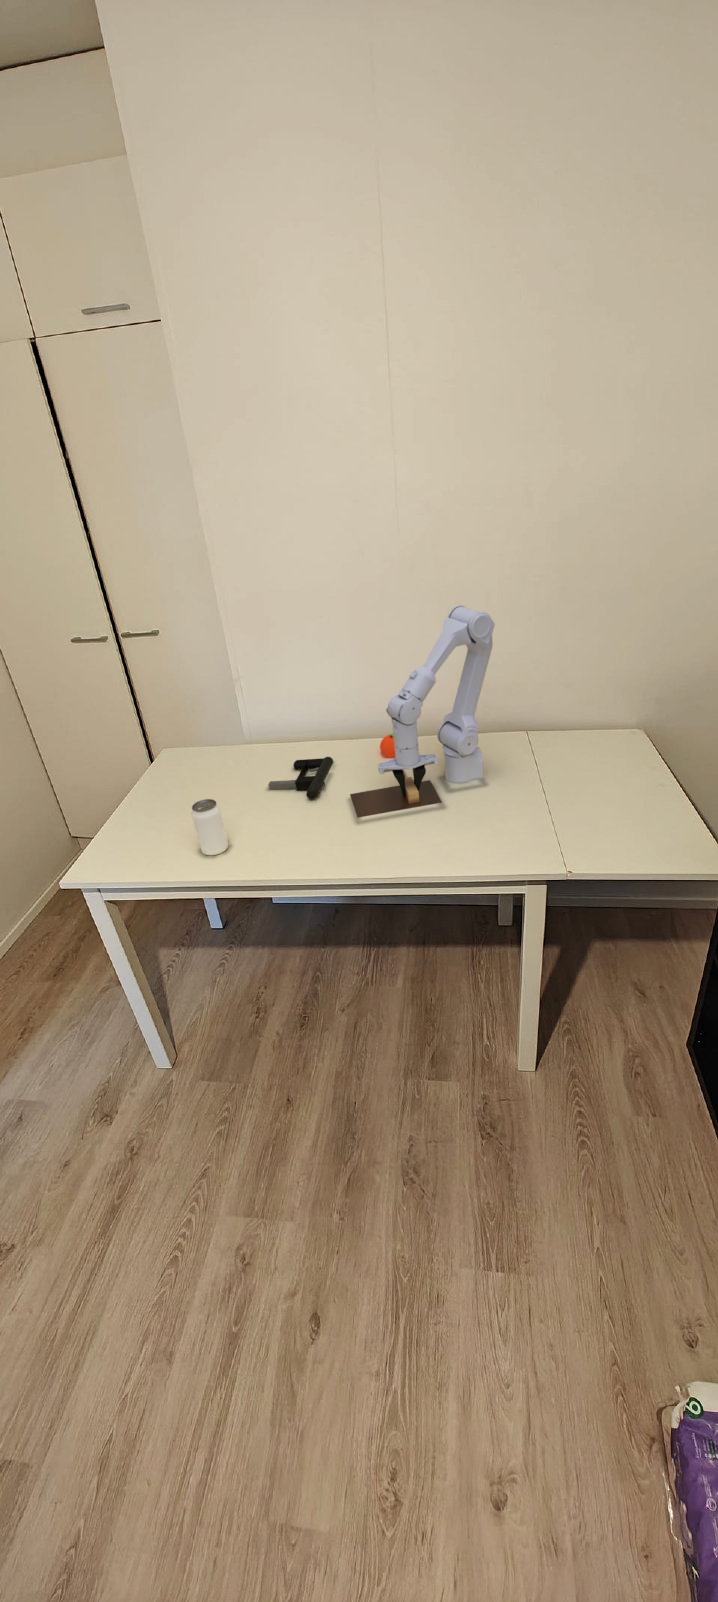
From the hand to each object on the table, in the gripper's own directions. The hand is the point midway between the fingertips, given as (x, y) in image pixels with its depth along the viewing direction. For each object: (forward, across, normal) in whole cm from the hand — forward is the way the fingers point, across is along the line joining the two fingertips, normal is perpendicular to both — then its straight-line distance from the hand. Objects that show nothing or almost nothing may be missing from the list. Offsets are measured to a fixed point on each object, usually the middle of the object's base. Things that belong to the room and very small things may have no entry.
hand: (410, 793), depth 177 cm
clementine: (+2, -1, -25) cm, 25 cm away
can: (+2, +49, +6) cm, 49 cm away
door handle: (+2, +26, -20) cm, 33 cm away
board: (+2, +4, 0) cm, 4 cm away
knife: (0, 0, -5) cm, 5 cm away
